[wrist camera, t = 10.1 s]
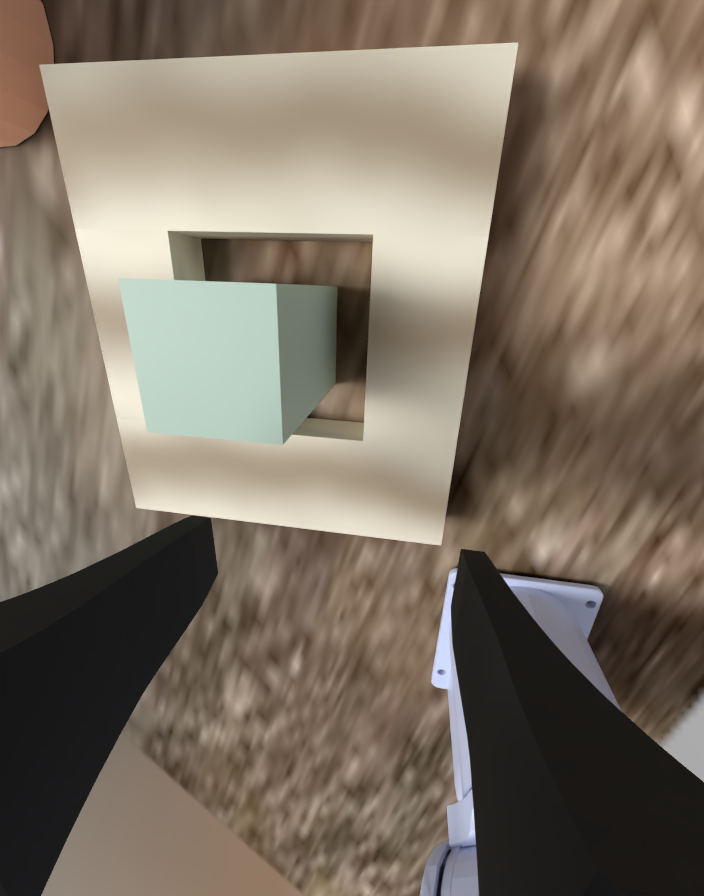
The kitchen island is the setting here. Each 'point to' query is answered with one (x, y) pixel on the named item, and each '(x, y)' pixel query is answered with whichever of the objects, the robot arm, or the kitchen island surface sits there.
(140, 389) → the peg
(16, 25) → the salt shaker
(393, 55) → the board with square hole
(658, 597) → the kitchen island surface
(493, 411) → the kitchen island surface
